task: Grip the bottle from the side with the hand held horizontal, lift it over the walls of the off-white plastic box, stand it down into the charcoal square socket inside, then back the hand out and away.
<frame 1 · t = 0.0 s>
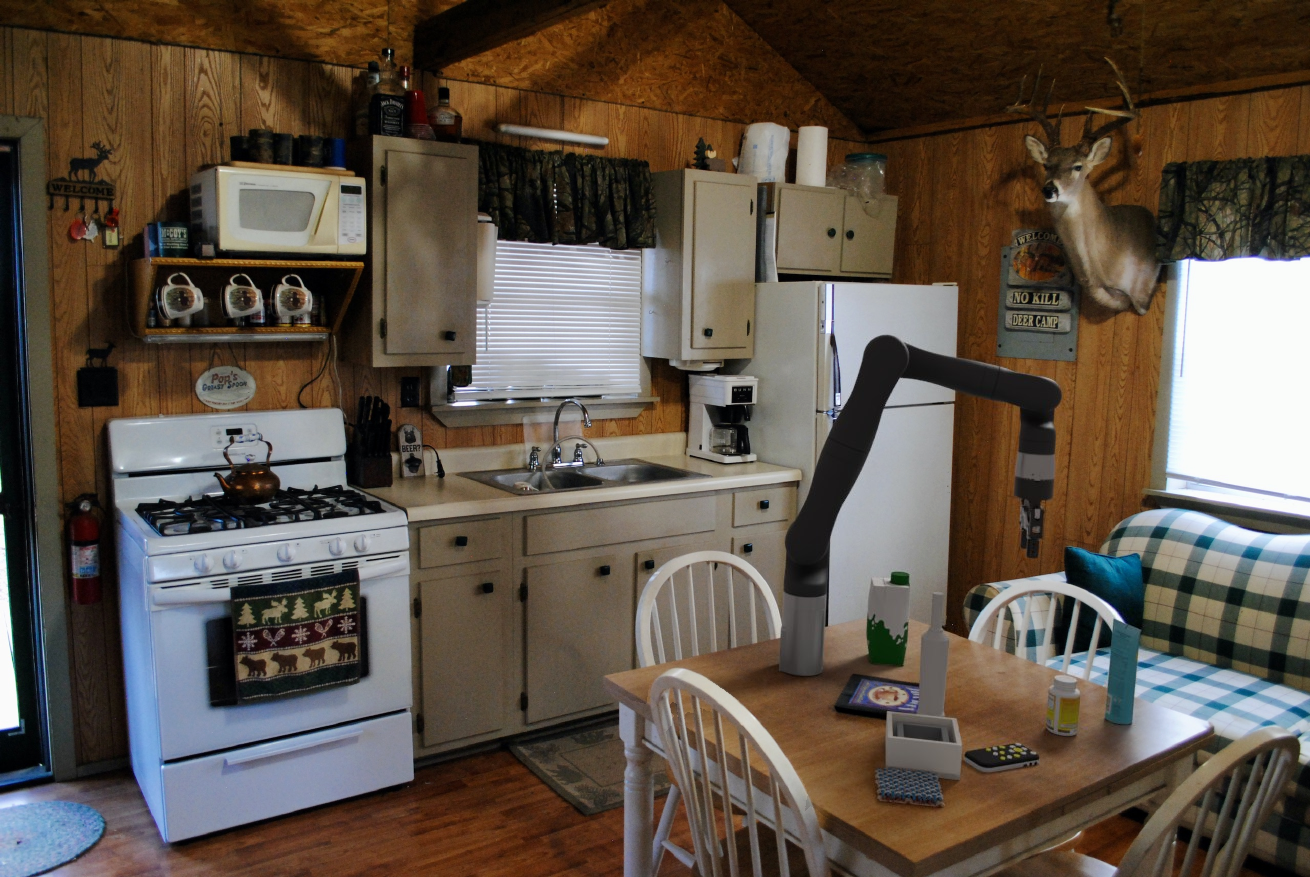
hand: (1028, 553, 207), 29 cm above the table, tool pointing down, fingers open, 8 cm apart
walled box: (921, 760, 175), on the table
milk carton: (885, 660, 228), on the table
supplement bottle: (1061, 732, 190), on the table
woven mat: (908, 794, 164), on the table
tube: (1118, 720, 196), on the table
remote control: (1001, 764, 176), on the table
bottle: (930, 721, 193), on the table
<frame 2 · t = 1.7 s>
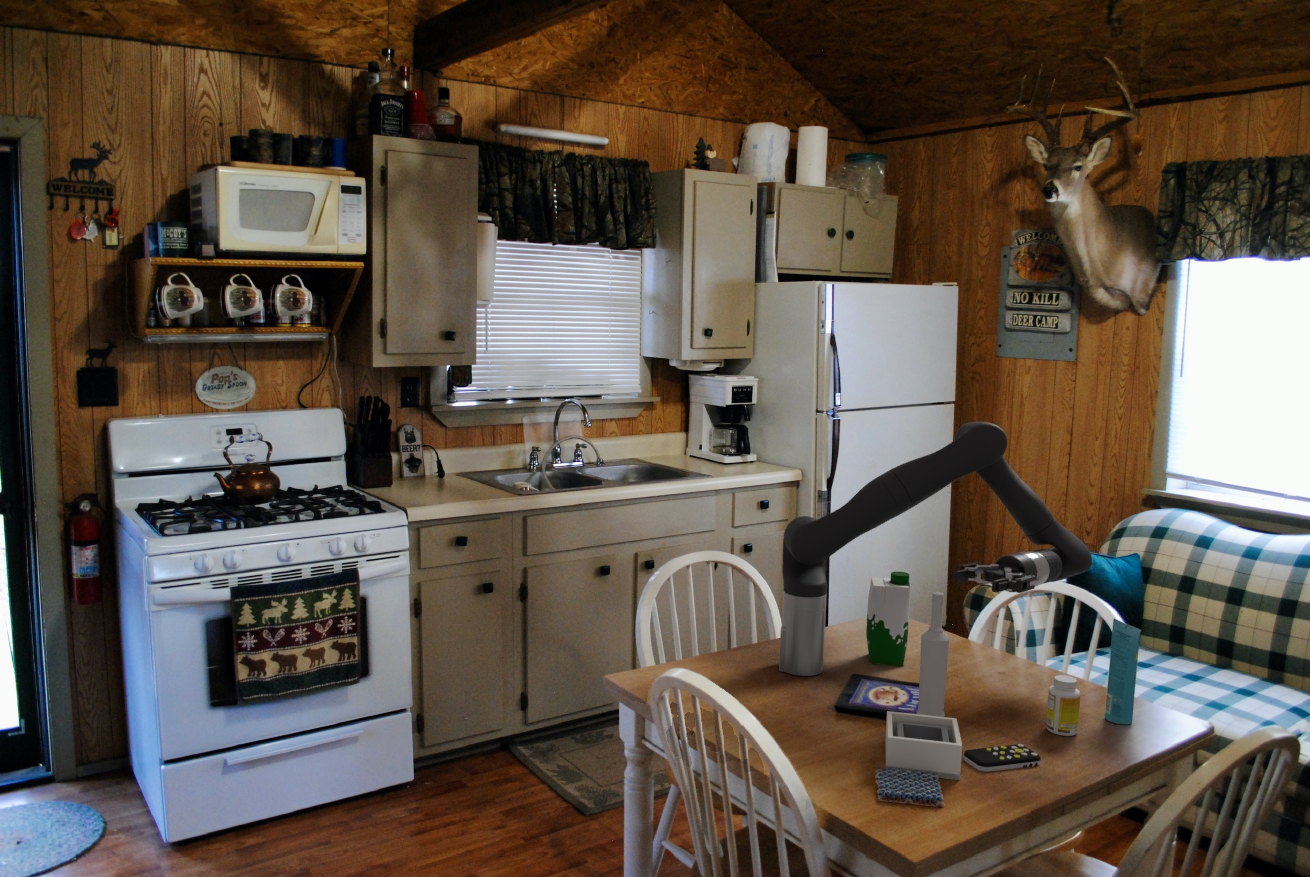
hand: (974, 582, 197), 26 cm above the table, tool horizontal, fingers open, 8 cm apart
nothing on the table moved.
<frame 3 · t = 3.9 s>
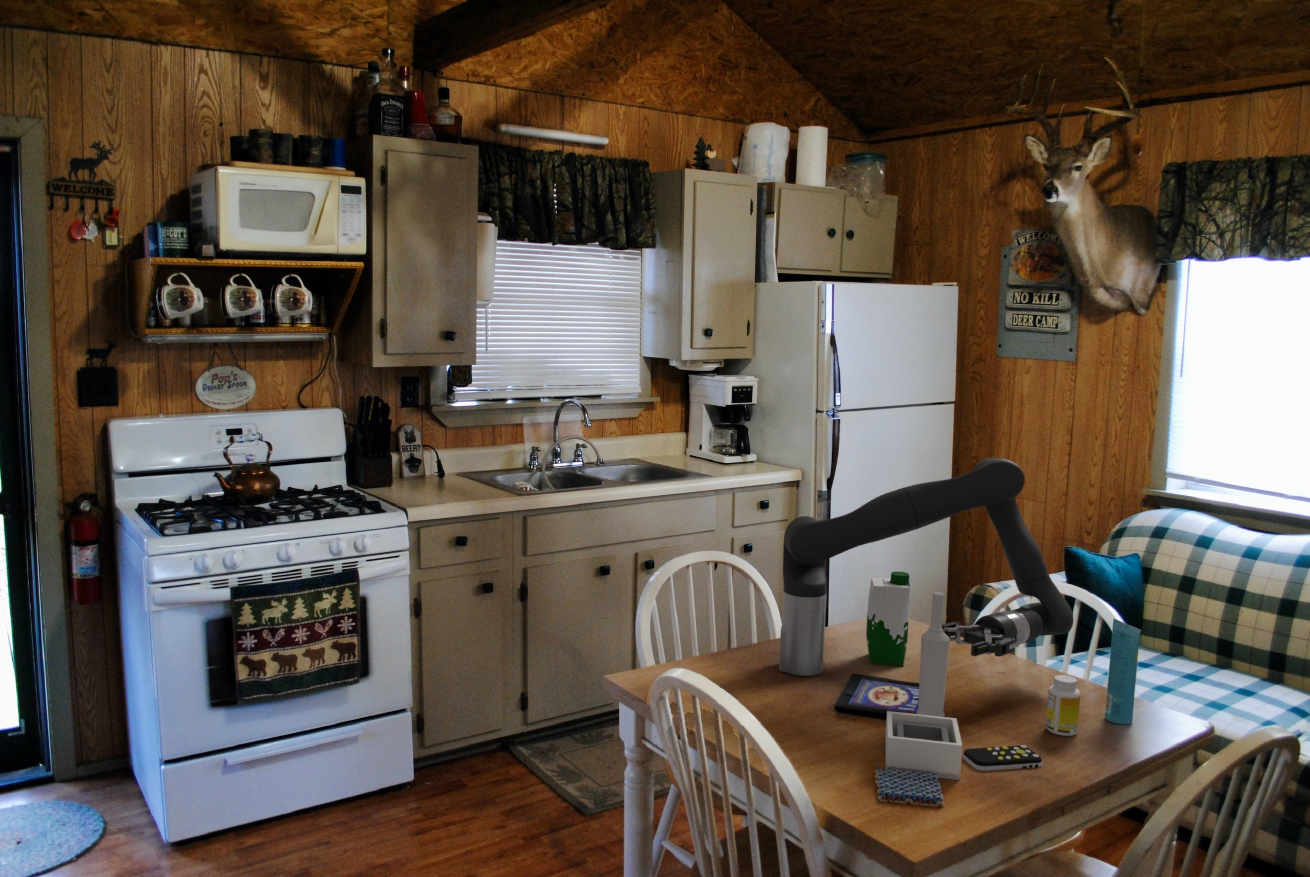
hand: (953, 644, 195), 14 cm above the table, tool horizontal, fingers open, 8 cm apart
nothing on the table moved.
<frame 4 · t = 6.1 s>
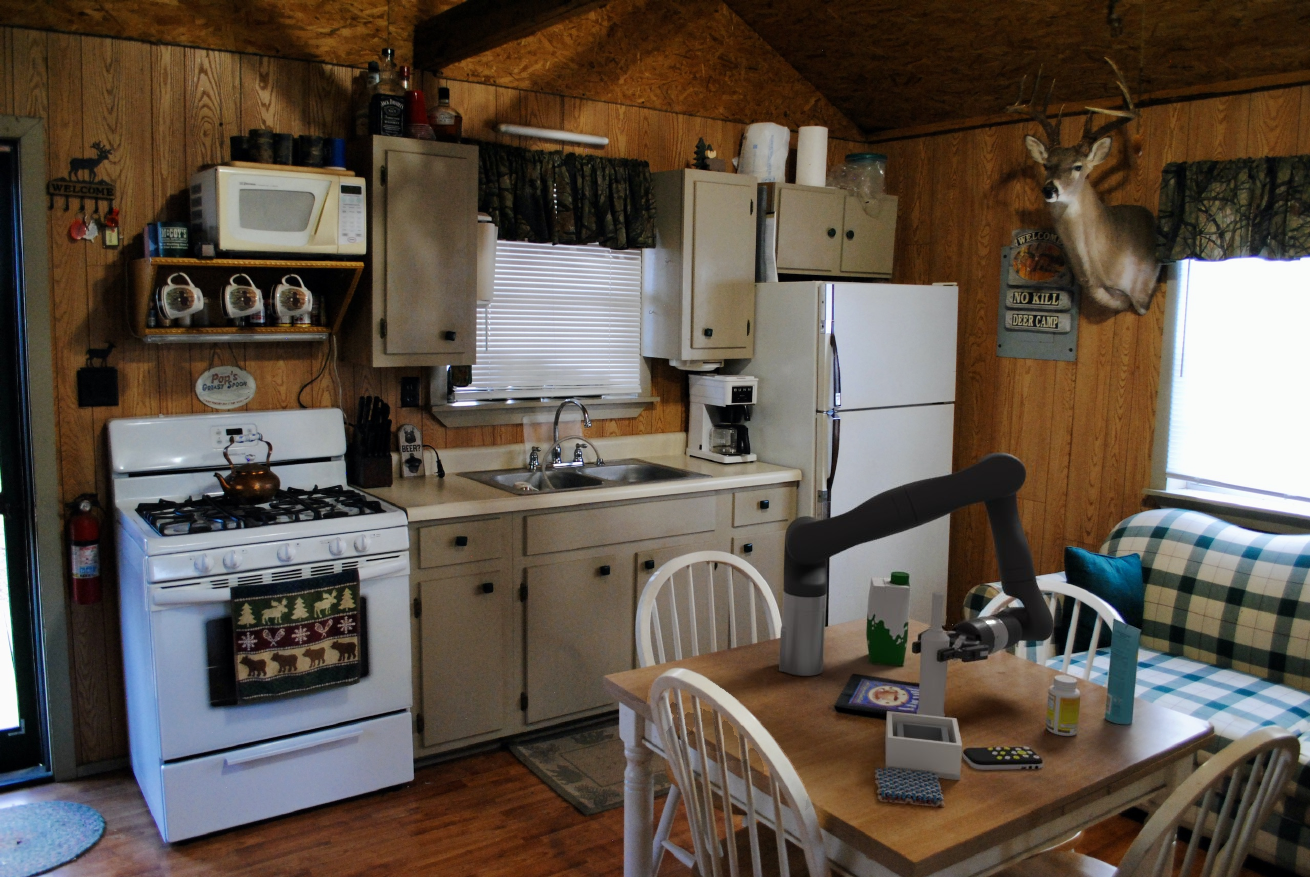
hand: (926, 652, 190), 14 cm above the table, tool horizontal, fingers closed on bottle, 5 cm apart
bottle: (930, 721, 193), on the table, touching gripper
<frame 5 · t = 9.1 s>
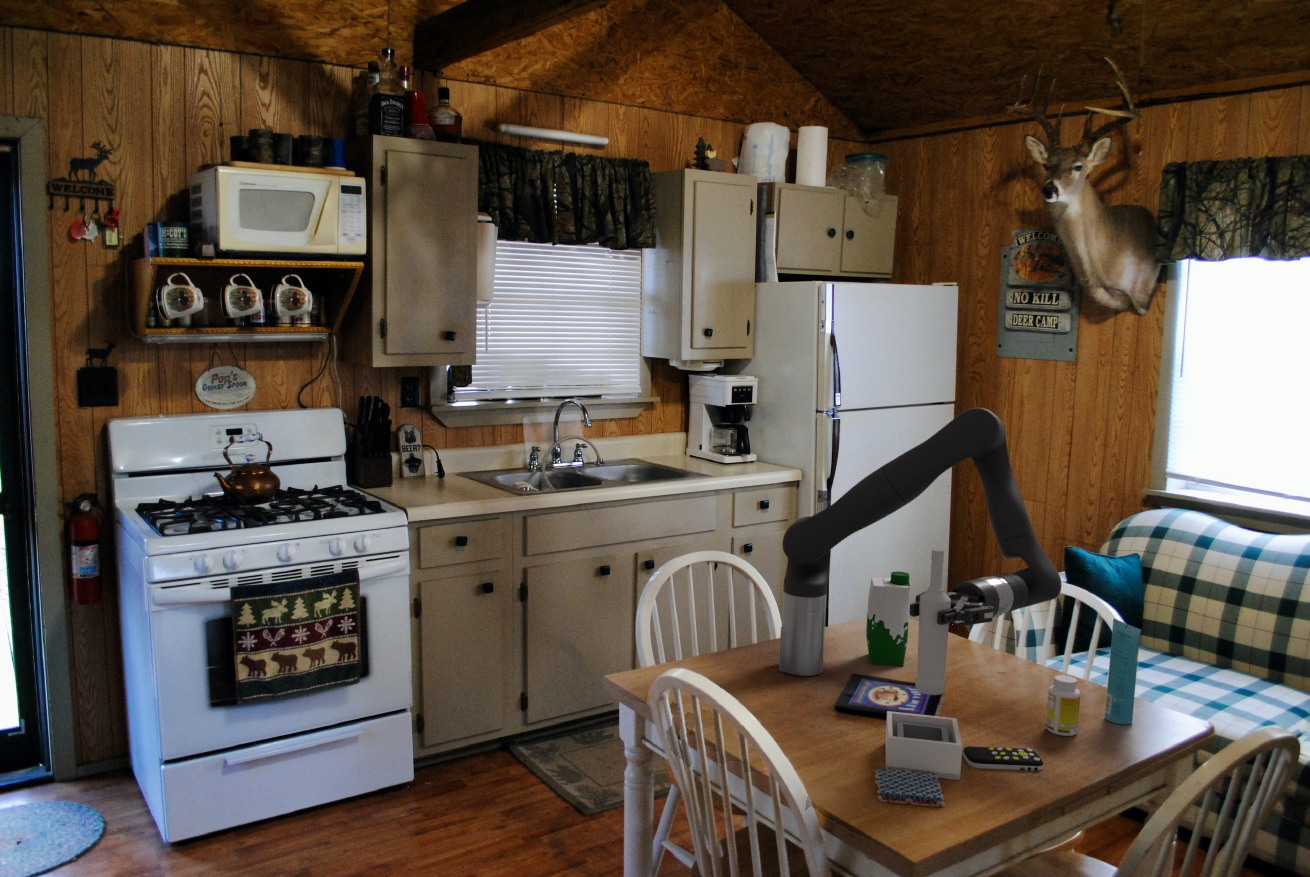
hand: (925, 614, 173), 26 cm above the table, tool horizontal, fingers closed on bottle, 5 cm apart
bottle: (930, 690, 176), point 12 cm above the table, touching gripper
when the fingers open (16 cm above the table, at t = 12.2 s): bottle drops 1 cm, resting on walled box.
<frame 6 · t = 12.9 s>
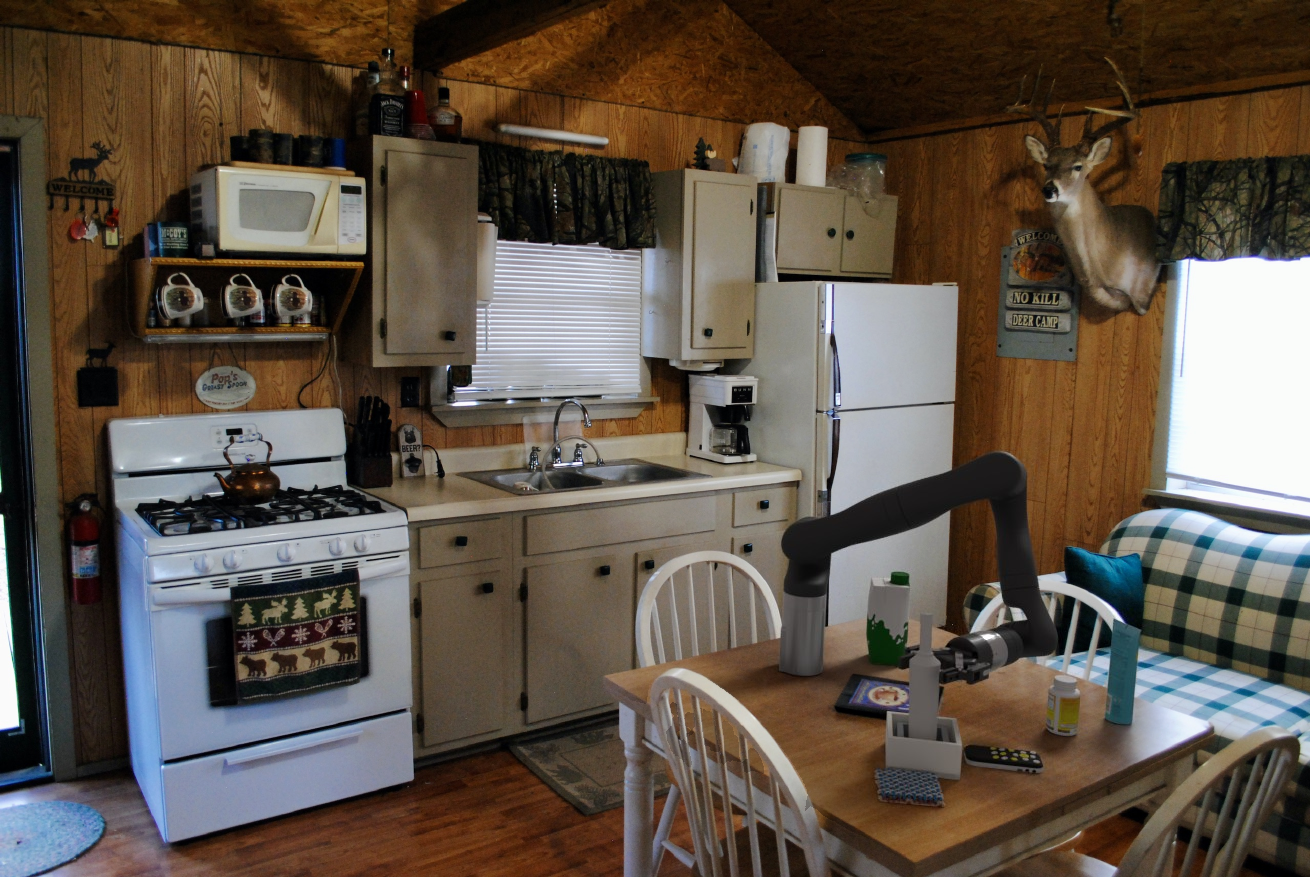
hand: (919, 670, 172), 17 cm above the table, tool horizontal, fingers open, 8 cm apart
bottle: (921, 755, 175), point 1 cm above the table, touching walled box
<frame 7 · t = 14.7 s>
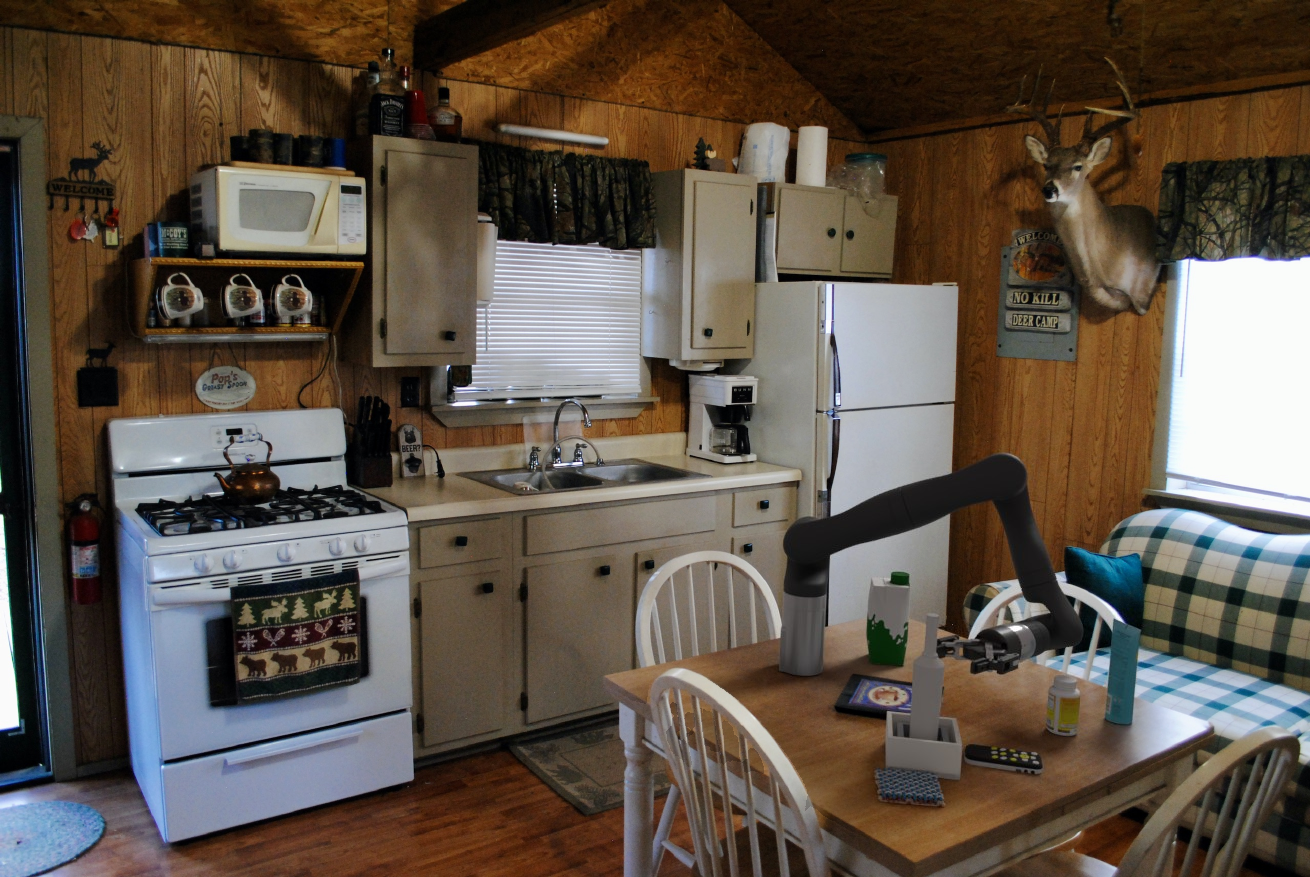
hand: (951, 661, 177), 17 cm above the table, tool horizontal, fingers open, 8 cm apart
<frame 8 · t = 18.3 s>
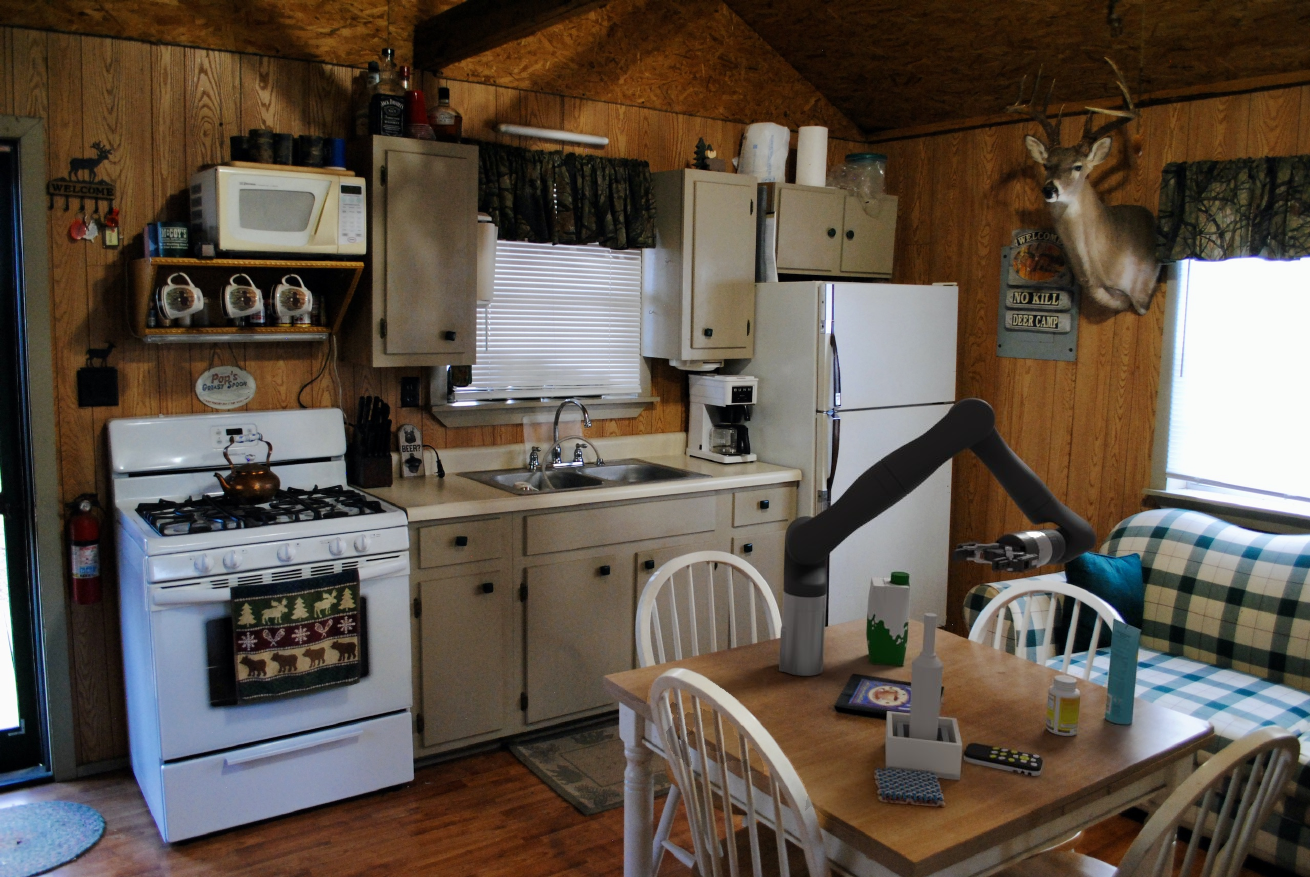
hand: (973, 561, 187), 32 cm above the table, tool horizontal, fingers open, 8 cm apart
at the end: bottle 0.2 cm off-centre on the walled box, point 0.8 cm above the walled box's base; bottle tilted 0°; the gripper is holding nothing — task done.
